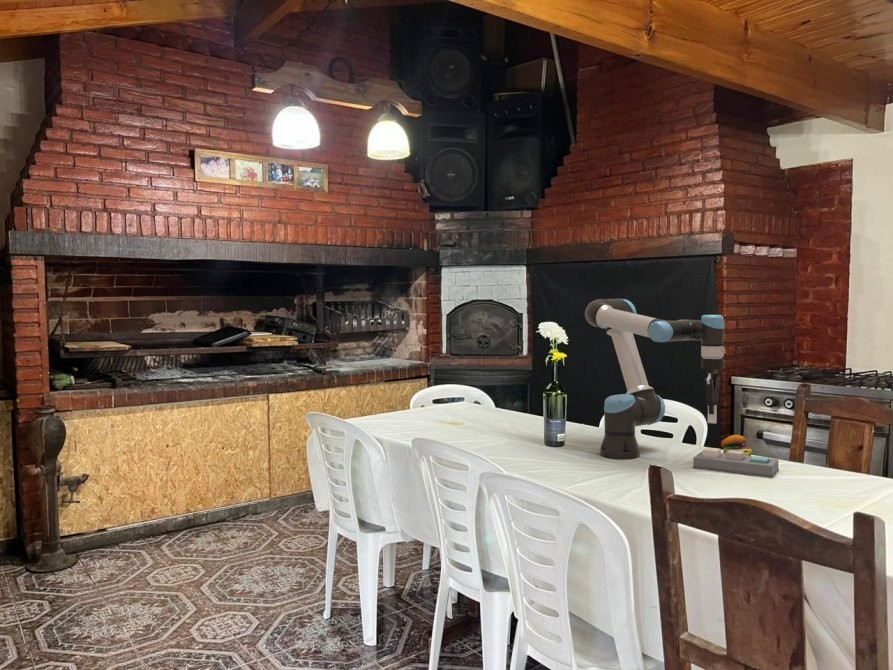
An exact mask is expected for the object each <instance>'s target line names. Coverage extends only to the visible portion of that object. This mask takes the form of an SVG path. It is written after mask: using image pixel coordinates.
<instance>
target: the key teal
mask: <svg viewBox="0 0 893 670" xmlns="http://www.w3.org/2000/svg"><path fill="white" fill-rule="evenodd" d="M769 458H770V457H765V456H755V455H754V456H752V458H751V462H757V463H766V464H768V463H769Z"/></svg>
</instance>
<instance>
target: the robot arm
mask: <svg viewBox="0 0 893 670" xmlns="http://www.w3.org/2000/svg"><path fill="white" fill-rule="evenodd" d="M584 317H585V320H586V321H587V323H588V324H590V325H591V326H593V327H596V328H600V329H605V331H606V334H607V335H608V336H610V337H611V339H612V342H613V345H614V350H615V353H616V356H617V360H618V363H619V366H620V370H621V373H622V376H623V381H624V383H625V387H626V390H627V391H626V393H621V394H614V395H613V394H612V395H609V396H608V397H606V398H605V399H604V406H603V413H604V414H603V415H604V417H603V418H604V419H603V420H604V437H603V439H602V443H601V446H600V447H599V450H600V451H599V452H600V453H599V454H600V455H601V456H602V457H605V458H608V459H616V460H618V459H619V460H627V459H629V460H630V459H636V458H640V455H641V450H640V447H639V446H640V445H639V443H638V440H637V438H636V437H637V436H636V427H639V426H640V427H641V426H645V425H647V426H650V425H654V424H658V423H659V422H660V421H661V420H662V419H663V418H664V415H665V412H666V405H665V401H664V399H663V398H662V397H661V396H660V395H658V394H656V392H655V388H653V387H652V386H650V385H649V382H648V378H647V376H646V372H645V370H644V366H643V363H642V359H641V355H640V354H639V349H638V347H637V343H636V339H635V337H634V335H638V336H641V337H646V338H649V339H651V340H652V341H653V342H656V343H667V342H681V341H699V342H700V341H701V343H700V344H701V345H700V346H701V347H700V348H701V349H700V350H701V351H700V352H701V353H700V356H701V359H700V361H701V362H700V365H701V367H700V368H701V369H703V370H706V373H705V375H704V376H705V378H704V379H703V380H704V387H705V388H704V389H705V390H704V391H705V403H704V404H705V405H706V406H707V424H714V425H715V424H717V407H718V406H717V405H720V402H719V391H720V390H719V389H720V380H721V376H720V373H719V370H724V367H725V364H724V363H725V362H724V361H725V359H724V358H723V357H724V356H725V355H724V353H725V352H726V349H725V347H724V343H725V342H724V339H725V337H724V336H725V321H724V320H725V319H724V317H723V315H722V314H721V315H720V314H703V315H702V316H701V319H699V320H698V319H697V320H696V319H677V320H666V319H660V318H656V317H653V316H652V317H651V316H647V315H643V314H638V313H637V310H636V307H635V305H634V304H633V303H632V302H631V301H630V300H628V299H624V298H607V299H606V298H605V299H604V298H603V299H602V298H598V299H595V300H593V301H591V302H589V304H588V305H586V308H585V311H584Z"/></svg>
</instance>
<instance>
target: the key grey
mask: <svg viewBox="0 0 893 670" xmlns="http://www.w3.org/2000/svg"><path fill="white" fill-rule="evenodd" d="M726 459H729V460H738V461H743V460H744V451H736V450H729V451H727V452H726Z"/></svg>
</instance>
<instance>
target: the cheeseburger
mask: <svg viewBox="0 0 893 670" xmlns="http://www.w3.org/2000/svg"><path fill="white" fill-rule="evenodd" d="M747 442H748V440H747V438H745V436H743V435H740V434H732V435H730V436H727V437H726V438H723V439H722V440H721V443H720V446H721V447H722V450H723V451H722V453H724V454H726V452H727V451H729V450H736V451H744V456H752V454H753V450H752V449H751V447H749V446H748V444H747Z"/></svg>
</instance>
